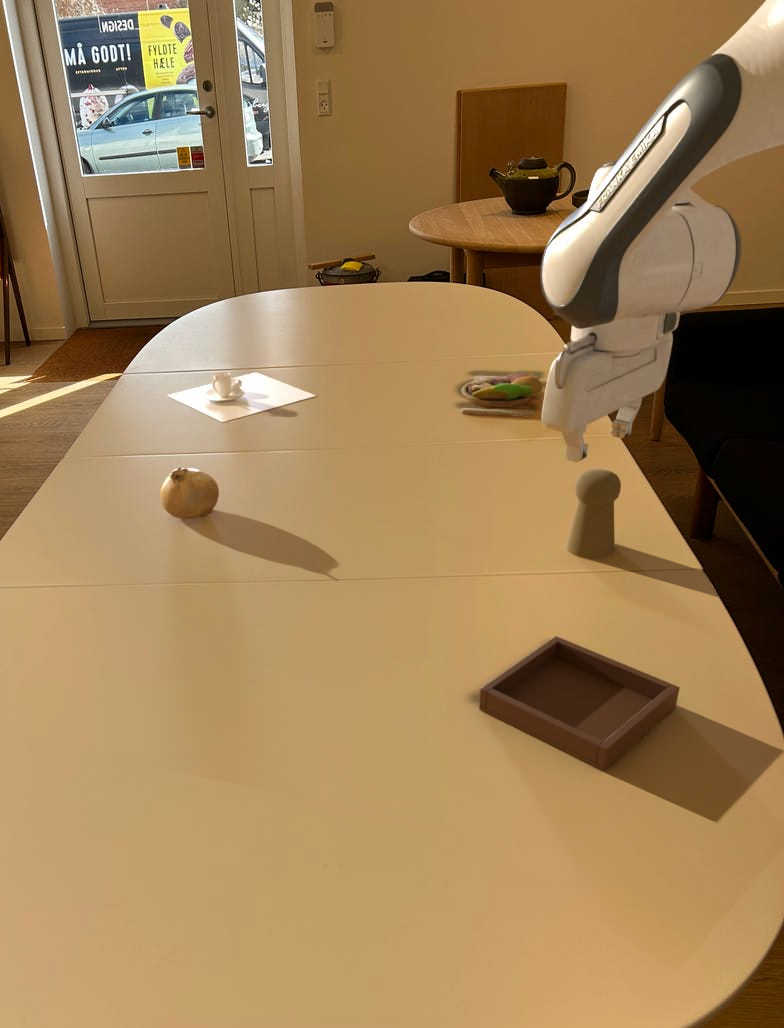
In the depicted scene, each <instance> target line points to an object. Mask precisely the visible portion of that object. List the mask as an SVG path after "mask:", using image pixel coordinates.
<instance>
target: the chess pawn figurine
mask: <svg viewBox="0 0 784 1028" xmlns="http://www.w3.org/2000/svg"><path fill="white" fill-rule="evenodd" d="M621 489H622V483H621V479H620V478H619V476H618V475H617V474H616V473H615V472H613V471H610V470H607V469H602V468H592V469H588V470H587V469H586V470H585V471H583V472H580V474H579V475H578V476H577V477H576V480H575V483H574V494H575V496H576V498H577V502H576V506H575V510H574V514H573V518H572V522H571V525H570V530H569V533H568V537H567V540H566V545H565V548H566V550H567V552H569V553H570V554H571V555H573V556H575V557H579V558H581V559H582V558H583V559H589V560H600V559H603V558H604V559H605V558H608V557H610V556H611V555H613V554H614V553H615V501H616V500H617V499H619V496H620V493H621Z"/></svg>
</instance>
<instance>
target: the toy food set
mask: <svg viewBox="0 0 784 1028" xmlns="http://www.w3.org/2000/svg"><path fill="white" fill-rule="evenodd" d="M543 388H544V387H543V384H542V382H541V381H540V377H539V376H531V375H530V374H528V373H524V372H521V371H520V372H518V371H517V372H513V373H511V374H509V375H507V376H494V375H475V376H473V380H472V381H470V382H468V383H466V384H465V385H463V387H462V388H461V394H463V396H464V397H465V398H466V399H467V400H468V401H469V402H471V403H473V404H476V405H480V406H483V405H484V407H491V406H493V408H492V409H491V408H490V409H489V408H473V407H471V408H470V407H463V408H461V410H460V412H461V415H475V416H477V415H479V416H497V415H515V416H514V417H518V416H533V417H534V415H535V414H534V413H535V411H534V410H532V409H518V408H517V409H516V408H501V407H500V406H508V407H512V406H511V405H516V406H518V405H517V404H520V405H522V404H521V403H523V404H525V403H527V402H529V401H530V400H531V399H532V398H534V397H535V396H536V395H537V394H540V393H542V391H543ZM528 400H529V401H528ZM526 401H527V402H526ZM524 402H525V403H524ZM494 406H496V407H494ZM533 414H534V415H533ZM516 415H517V416H516Z"/></svg>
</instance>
